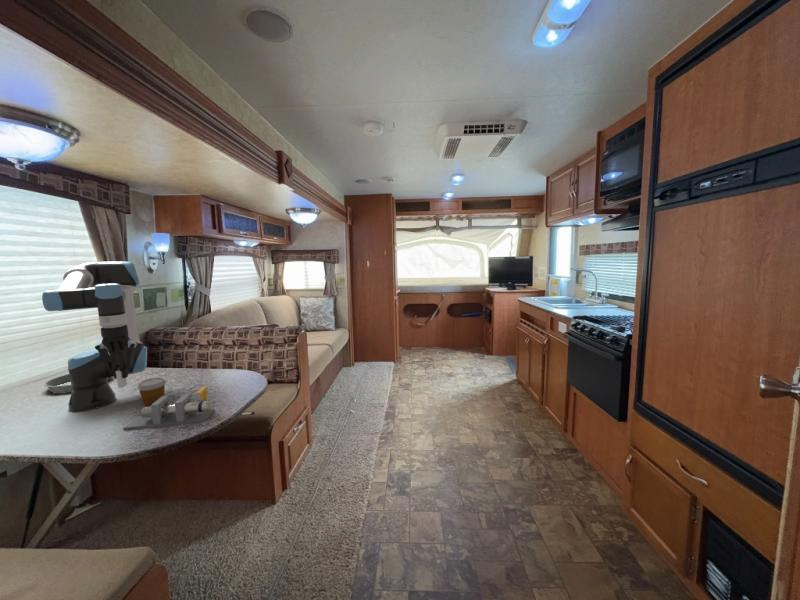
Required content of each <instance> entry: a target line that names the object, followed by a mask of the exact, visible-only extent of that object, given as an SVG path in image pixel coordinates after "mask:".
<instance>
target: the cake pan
mask: <svg viewBox="0 0 800 600" xmlns="http://www.w3.org/2000/svg"><path fill="white" fill-rule="evenodd" d="M67 382H71V381H70V375H69V373H67V374H64V375H60V376H57V377H53V378H51V379H48V380H46V381H45V382H44V386H45V387H46V388H47V389H48V390H49V392H50V391H51V392H55V393H61V394H68V393H67V392H71V393H72V387H71V385H63V386H57V385H60V384H64V383H67ZM51 392H50V393H51ZM55 393H54V394H55Z"/></svg>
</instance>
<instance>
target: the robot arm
mask: <svg viewBox="0 0 800 600" xmlns="http://www.w3.org/2000/svg"><path fill="white" fill-rule="evenodd" d="M62 277H63V278H62V280H63V281H62V282H61V284H60V285H59V287H58V288H57V289H51V290H50V289H49V290H44V291H43V293H42V295H41V298H42V299H41V300H42V305H43V308H44V309H45V310H46V311H48V312H63V311H73V310H82V309H84V310H85V309H96V308H97V312H98V313H97V314H98V321H99V326H100V327H101V328H100V334H101V335H100V337H101V338H102V340H101V343H98V344H97V345H95V346H94V349H92V350H89V351H84V352H82V353H78V354H75V355H73V356H71V357H70V358H68V360H67V370H68V374H69V375H70V381H71V387H72V392H71V394H70V397H69V401H68V410H69V411H70V412H84V411H91V410H94V409H98V408H101V407H104V406H107V405H110V404H111V403H113V402H114V401H115V400H116V399H117V398H116V393H115V392H114V390H113V388H112V387H111V385H110V384H109V379H110V378H114V379H116V383H117V389H120V388H122V389H123V388H125V386H127V385H128V380H127V378H128V377H129V375H134V374H138V373H142V372H144V371H146V369H147V363H148V347H147V346H146V345H144V344H143V342H141V341H140V340H139V336H138V335H139V334H138V328H137V327H138V325H137V319H136V310H135V309H136V308H135V301H134V300H135V299H134V292H135V290H137V286H139V285H140V283H141V282H140V280H139V277H138V273H137V270H136V266H135V264H134V263H133V262H132V261H122V260H120V261H89V262H85V263H84V262H83V263H80V264H78V265H75V266H73V267H71V268H69V269H68V270H66V272H65V273H64V274H63V276H62Z"/></svg>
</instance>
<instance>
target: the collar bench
mask: <svg viewBox="0 0 800 600" xmlns="http://www.w3.org/2000/svg"><path fill="white" fill-rule="evenodd" d="M208 392H209V391H208V385H204V386H202V387H200V389H198V390H197V391H196V393H195V396H199V399H200V400H201V401H207V402H208V409H207V411H205V412H195V413H185V410H184V404H185V403H190V402H193V399H192V393H184V394H182V396H181V397H179V398H178V399H177V400H176V401H175V402H174V404H175V411H176V415H166V416H162V413H161V406H162V405H170V404H171V401H170V395H169V394H167V395H164V396H162V397H160V398H159V399H158V400H157V401H155V402H154V403H153V404H152V405H151V411H152V417H146V418H142V417H141V415H138V416H136V417H135V418H133V419H132V420H131V421H130V422H129V423H127V424H126V425H124V427H123V428H122V429H123V431H130V430H139V429H140V430H141V429H147V428H148V429H149V428H150V429H151V428H156V427H157V428H158V427H165V426H166V427H167V426H176V425H177V426H178V425H187V424H194V423H203V422H207V421H208V419H209V418H210V417H211V415H212V414H214V411H215V408H210V402H209V393H208Z"/></svg>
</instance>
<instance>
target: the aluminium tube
mask: <svg viewBox="0 0 800 600" xmlns="http://www.w3.org/2000/svg"><path fill="white" fill-rule="evenodd" d="M207 409H208V402H207V401H203V400H201V401H192V402H190V403H185V404H184V410H185V413H195V412H205V411H207ZM161 413H162V416H166V415H176V411H175V403H172V404H171V403H170V405H162V406H161ZM140 416H141V417H142V418H146V417H152V411H151V406H149V407H144V406H143V407H142V408H141V410H140Z"/></svg>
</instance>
